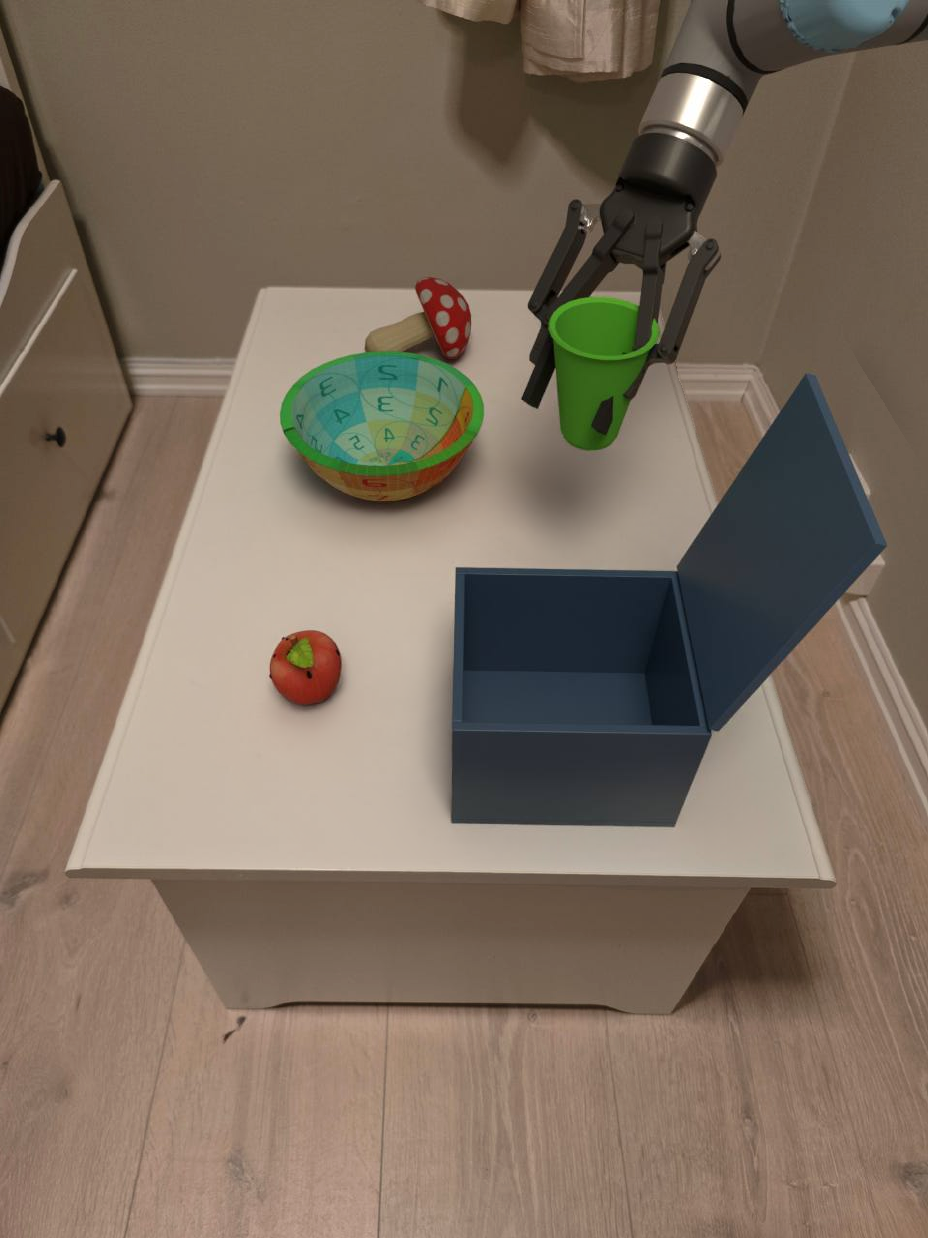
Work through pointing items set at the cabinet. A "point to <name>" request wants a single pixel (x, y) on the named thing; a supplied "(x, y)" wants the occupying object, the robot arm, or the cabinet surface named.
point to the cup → (595, 364)
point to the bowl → (382, 422)
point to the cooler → (573, 698)
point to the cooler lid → (775, 552)
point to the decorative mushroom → (428, 322)
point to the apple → (306, 667)
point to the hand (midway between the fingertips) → (563, 416)
